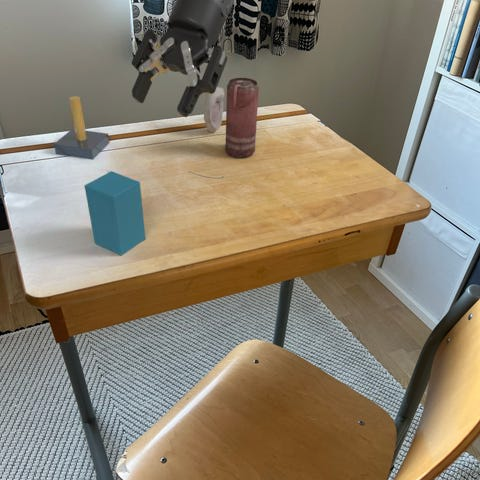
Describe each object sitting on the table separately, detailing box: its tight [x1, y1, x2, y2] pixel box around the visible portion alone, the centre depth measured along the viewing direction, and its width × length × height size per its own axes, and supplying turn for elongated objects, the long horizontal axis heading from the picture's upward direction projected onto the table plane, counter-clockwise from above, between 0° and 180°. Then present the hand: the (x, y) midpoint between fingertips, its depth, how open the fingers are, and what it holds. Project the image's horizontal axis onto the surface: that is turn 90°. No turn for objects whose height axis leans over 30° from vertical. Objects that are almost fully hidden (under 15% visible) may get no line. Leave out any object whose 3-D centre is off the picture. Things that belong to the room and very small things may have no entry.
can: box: [224, 77, 260, 159], centre depth 101 cm, size 6×6×14 cm
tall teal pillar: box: [84, 170, 146, 256], centre depth 78 cm, size 6×6×10 cm
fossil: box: [203, 85, 226, 133], centre depth 110 cm, size 6×4×10 cm, turn 147°
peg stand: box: [53, 95, 110, 160], centre depth 101 cm, size 8×8×10 cm
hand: (158, 107), depth 76 cm, fingers open, 8 cm apart
